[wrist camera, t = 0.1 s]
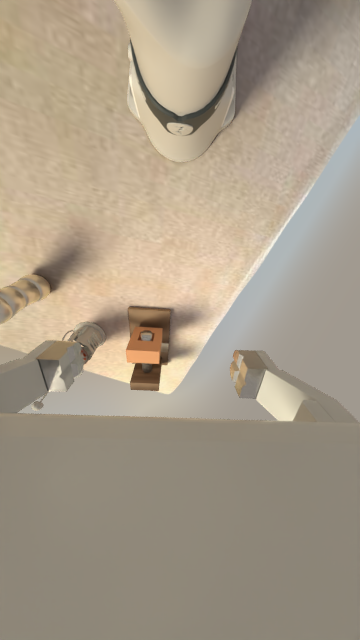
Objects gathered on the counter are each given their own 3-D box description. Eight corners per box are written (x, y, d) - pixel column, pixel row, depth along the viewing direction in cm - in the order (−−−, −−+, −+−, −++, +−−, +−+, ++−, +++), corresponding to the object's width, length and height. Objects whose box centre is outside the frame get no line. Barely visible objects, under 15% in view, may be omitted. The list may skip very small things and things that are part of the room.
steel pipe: (141, 329, 48) (139, 336, 46) (152, 330, 48) (151, 336, 46) (143, 369, 56) (141, 376, 53) (152, 369, 56) (151, 377, 53)
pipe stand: (129, 306, 51) (116, 330, 40) (170, 309, 51) (168, 333, 41) (133, 361, 61) (123, 390, 51) (167, 362, 62) (165, 392, 51)
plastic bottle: (54, 277, 46) (-20, 312, 29) (53, 299, 49) (-13, 343, 32) (27, 268, 45) (-67, 300, 28) (28, 291, 48) (-55, 333, 31)
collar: (135, 326, 51) (125, 349, 42) (162, 328, 52) (159, 351, 43) (135, 337, 53) (127, 362, 44) (162, 339, 54) (159, 363, 45)
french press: (78, 346, 58) (18, 423, 36) (68, 316, 52) (-9, 385, 31) (108, 347, 58) (67, 424, 37) (101, 317, 52) (49, 386, 31)
